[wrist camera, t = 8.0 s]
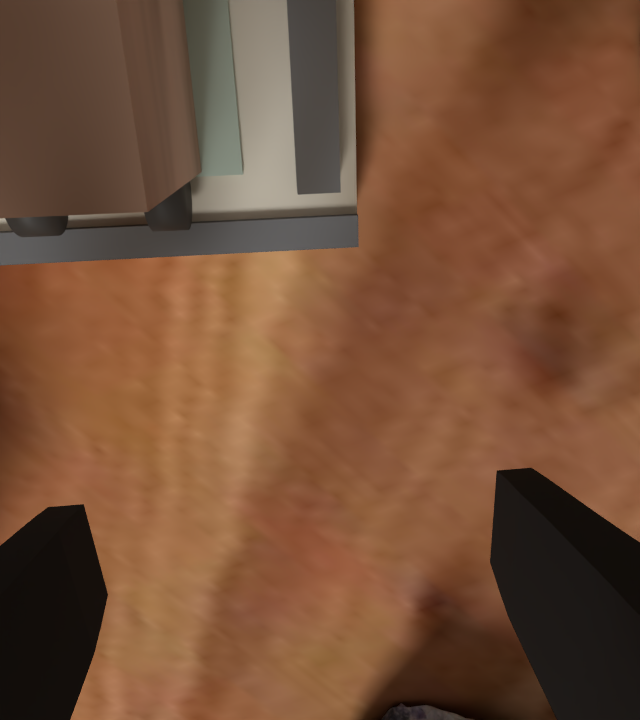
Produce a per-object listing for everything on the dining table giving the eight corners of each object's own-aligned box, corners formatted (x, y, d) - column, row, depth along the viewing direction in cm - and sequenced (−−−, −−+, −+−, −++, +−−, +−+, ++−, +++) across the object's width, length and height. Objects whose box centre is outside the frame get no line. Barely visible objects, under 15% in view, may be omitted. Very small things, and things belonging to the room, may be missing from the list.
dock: (-59, 247, 17) (-144, 281, 14) (-209, -252, 13) (-388, -383, 9) (347, 227, 18) (362, 255, 14) (338, -264, 13) (355, -394, 10)
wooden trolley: (29, 230, 14) (-129, 303, 9) (-73, -212, 11) (-422, -523, 6) (206, 221, 15) (159, 290, 9) (158, -216, 11) (38, -524, 6)
